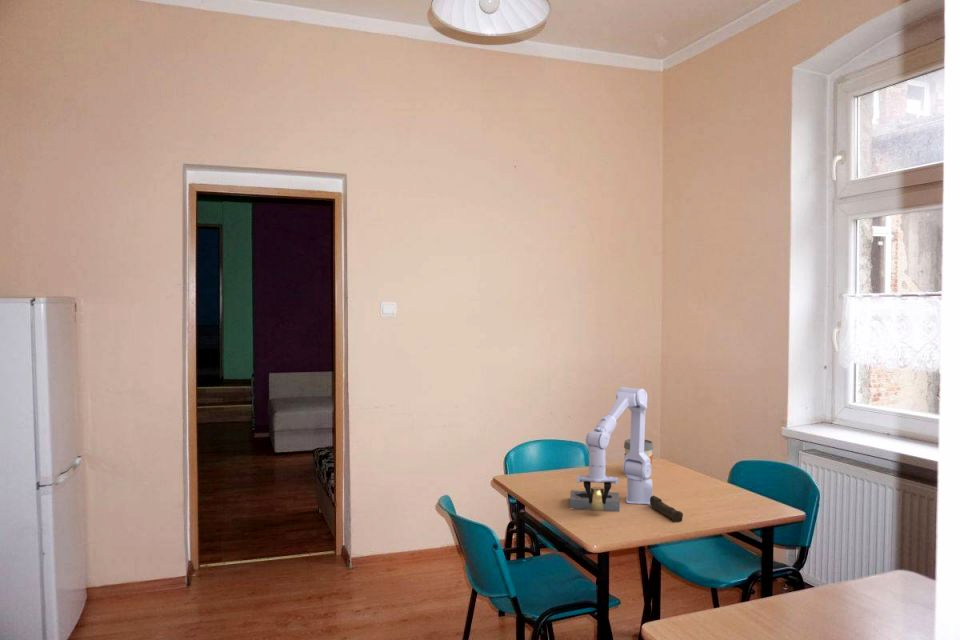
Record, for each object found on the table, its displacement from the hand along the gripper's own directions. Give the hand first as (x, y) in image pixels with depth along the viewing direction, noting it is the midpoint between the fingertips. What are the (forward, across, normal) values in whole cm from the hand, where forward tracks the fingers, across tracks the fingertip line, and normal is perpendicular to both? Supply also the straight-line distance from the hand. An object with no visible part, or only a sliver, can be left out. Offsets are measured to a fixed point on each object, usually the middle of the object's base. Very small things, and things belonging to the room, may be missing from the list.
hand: (597, 502), depth 229 cm
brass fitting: (+2, 0, 0) cm, 2 cm away
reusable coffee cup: (+5, +18, +59) cm, 62 cm away
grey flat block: (+4, -1, +12) cm, 13 cm away
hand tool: (+5, +23, +6) cm, 24 cm away
